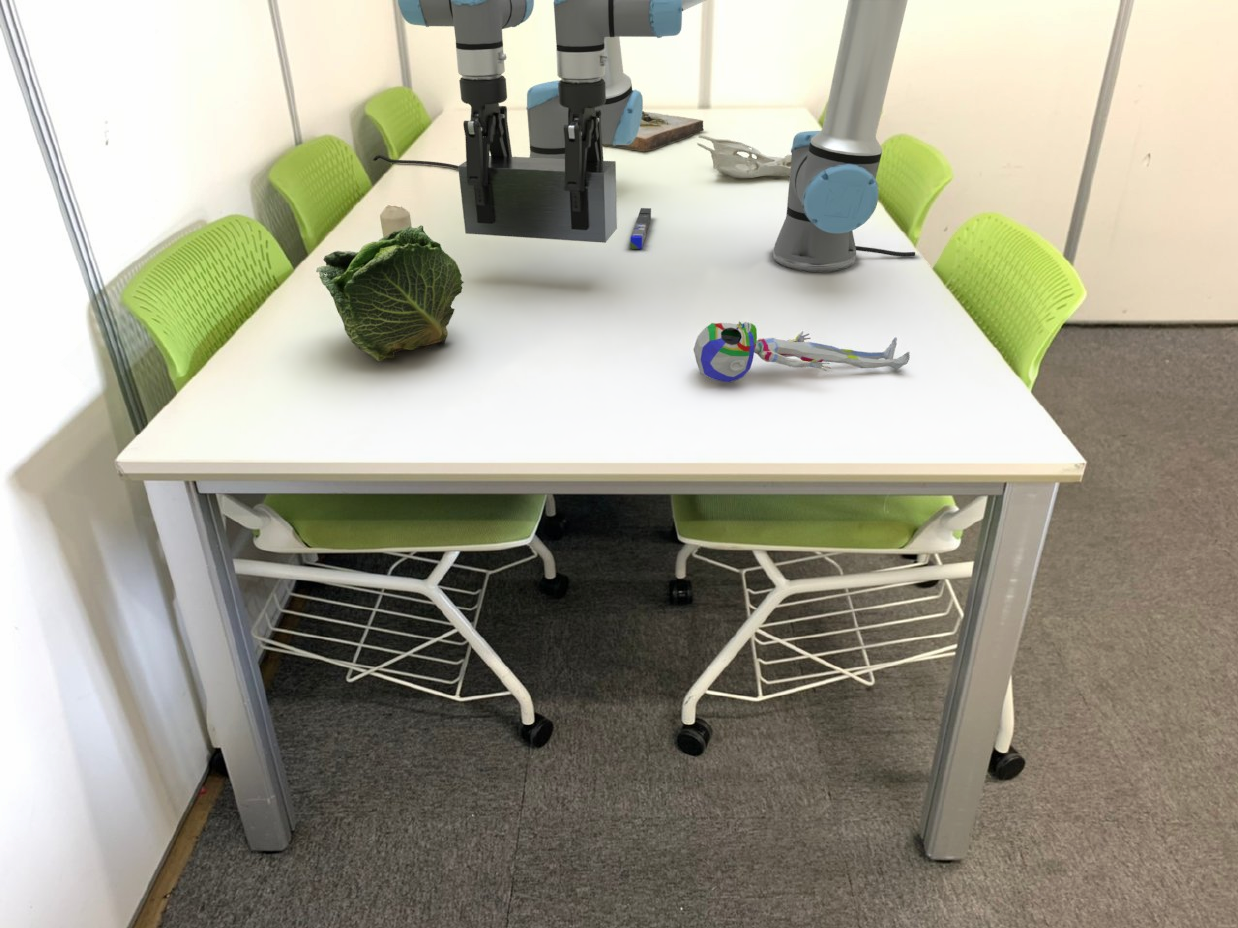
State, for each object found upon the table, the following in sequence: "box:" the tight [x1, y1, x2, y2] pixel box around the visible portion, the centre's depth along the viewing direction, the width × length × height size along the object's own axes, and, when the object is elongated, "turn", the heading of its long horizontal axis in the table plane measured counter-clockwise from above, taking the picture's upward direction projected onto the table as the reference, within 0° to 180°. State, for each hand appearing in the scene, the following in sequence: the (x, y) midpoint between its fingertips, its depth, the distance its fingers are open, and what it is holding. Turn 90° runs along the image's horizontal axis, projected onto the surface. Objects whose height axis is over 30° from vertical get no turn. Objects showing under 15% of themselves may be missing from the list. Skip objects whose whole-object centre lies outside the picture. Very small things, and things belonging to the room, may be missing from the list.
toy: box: [692, 321, 911, 383], centre depth 128 cm, size 10×8×30 cm
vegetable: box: [315, 224, 465, 362], centre depth 134 cm, size 20×19×20 cm
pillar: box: [630, 207, 652, 250], centre depth 183 cm, size 2×2×20 cm
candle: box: [379, 205, 412, 238], centre depth 170 cm, size 6×6×10 cm
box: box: [457, 155, 618, 244], centre depth 154 cm, size 25×8×12 cm, turn 76°
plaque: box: [602, 110, 705, 152], centre depth 257 cm, size 30×7×30 cm
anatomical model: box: [696, 134, 792, 179], centre depth 218 cm, size 15×9×25 cm
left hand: (494, 215), depth 157 cm, fingers closed on box, 8 cm apart
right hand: (586, 221), depth 154 cm, fingers closed on box, 8 cm apart
